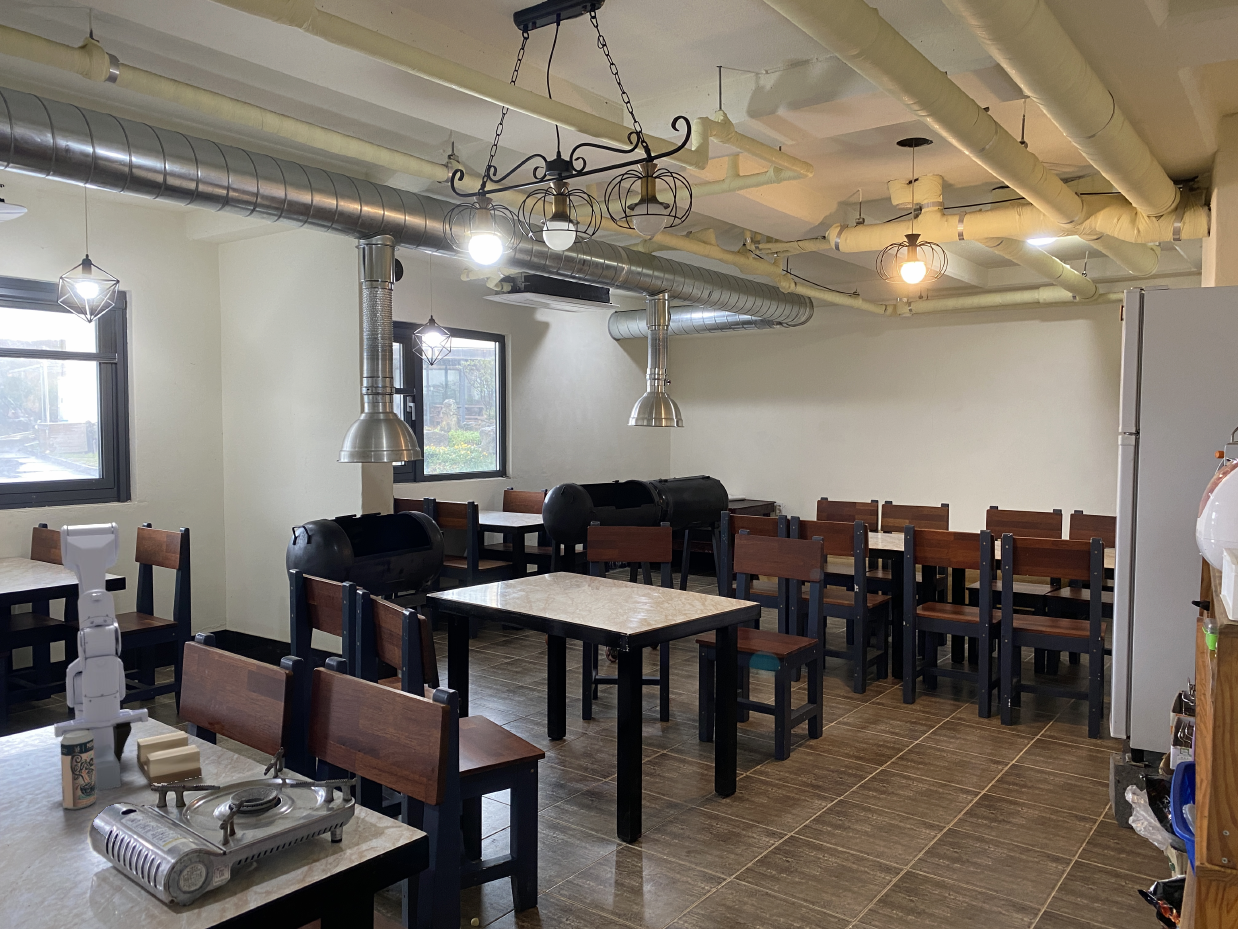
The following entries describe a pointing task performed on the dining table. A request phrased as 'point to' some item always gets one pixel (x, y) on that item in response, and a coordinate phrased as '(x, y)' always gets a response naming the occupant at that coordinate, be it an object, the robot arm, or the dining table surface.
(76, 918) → the dining table surface
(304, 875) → the dining table surface
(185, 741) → the display stand
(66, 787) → the tea canister
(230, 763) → the dining table surface
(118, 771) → the grey rectangular block
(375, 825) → the dining table surface
